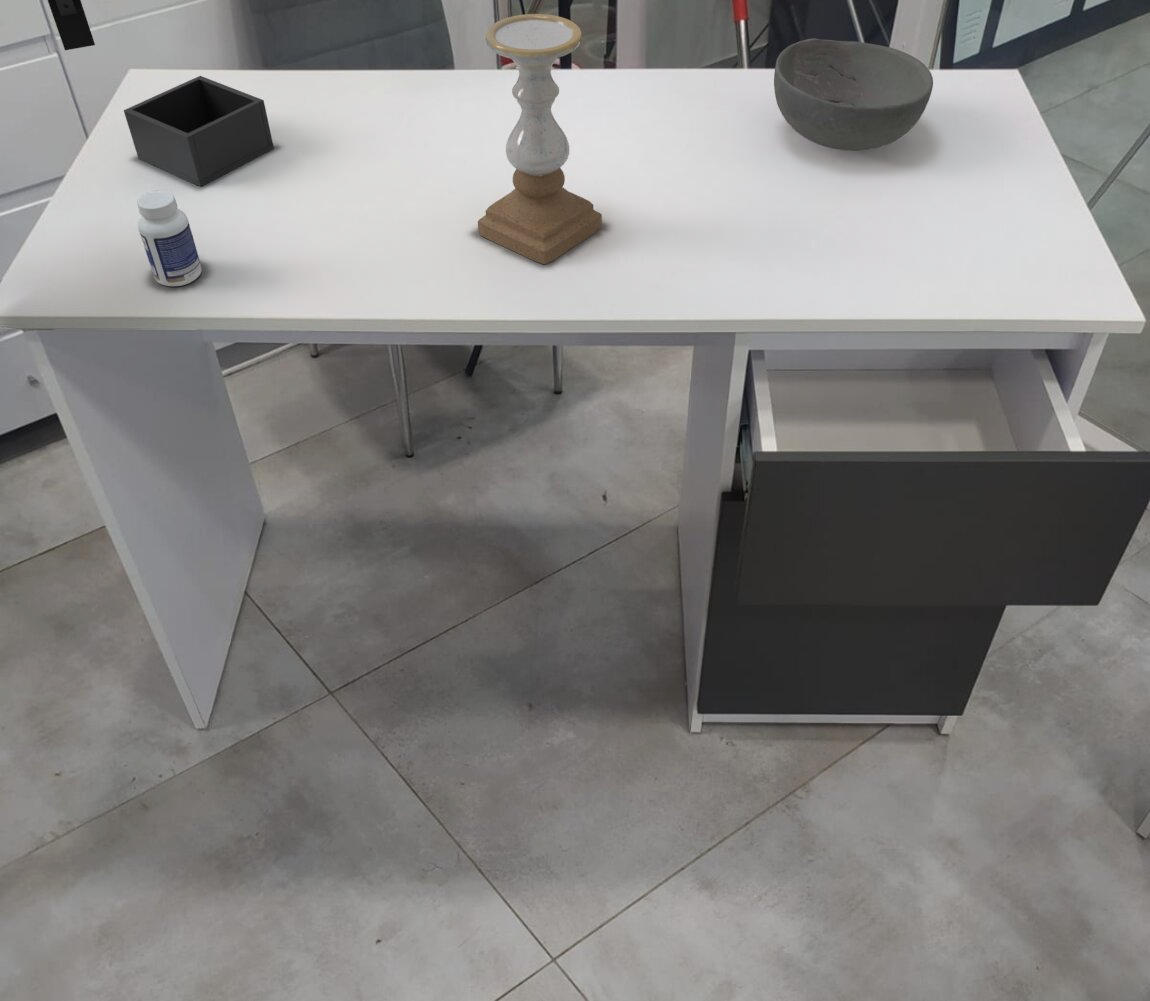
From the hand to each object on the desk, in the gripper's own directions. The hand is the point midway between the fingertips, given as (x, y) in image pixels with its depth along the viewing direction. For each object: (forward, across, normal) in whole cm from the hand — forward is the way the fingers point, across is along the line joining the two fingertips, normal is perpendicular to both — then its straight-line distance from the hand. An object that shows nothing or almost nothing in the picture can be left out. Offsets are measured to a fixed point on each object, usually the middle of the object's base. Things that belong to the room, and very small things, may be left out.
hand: (72, 20), depth 108 cm
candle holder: (+30, -9, -44) cm, 54 cm away
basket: (+29, +27, -10) cm, 41 cm away
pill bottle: (+29, -1, -2) cm, 29 cm away
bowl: (+30, -5, -90) cm, 95 cm away
